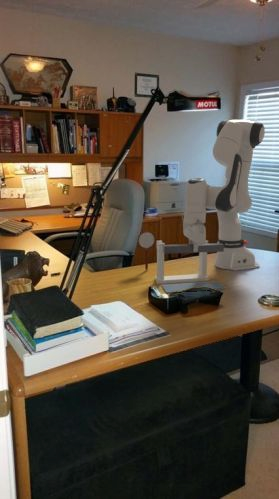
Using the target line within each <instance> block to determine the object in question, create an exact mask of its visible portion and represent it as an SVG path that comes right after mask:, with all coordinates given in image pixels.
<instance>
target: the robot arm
mask: <svg viewBox="0 0 279 499" xmlns="http://www.w3.org/2000/svg"><path fill="white" fill-rule="evenodd" d="M265 133H266V132H265V126H264V124H263V123H262V122H259V121H251V120H246V119H231V120H230V119H224V120H221V121H220V122H219V123H218V125H217V127H216V140H215V142H214V145H213V146H212V155H213V158H214V160H215V161H216V162H217V163H218V164H219V165H221V166H222V167H226V170H225V175H224V176H225V179H226V183H225V185H223V186H215V185H214V186H213V185H210V184H208V183H207V180H206V179H205V178H200V177H199V178H198V177H197V178H190V179H189V180H188V181H186V182H187V183H186V186H185V193H184V194H185V195H184V202H185V208H184V212H183V213H182V215H181V219H182V229H183V230H182V232H183V235H184V237H186V238H188V244H194V246H193V251H194V252H196V253H198V252H197V251H198V246H199V244H205V242H206V241H207V238H206V237H207V230H206V226H205V225H204V224H205V223H206V217H207V210H208V209H209V210H216V215H217V220H218V238H217V242H216V243H222V244H223V245H224V252H216V253H217V254H216V259H215V263H214V265H213V266H214V267H216V268H218V269H223V270H224V269H225V270H230V271H234V272H235V271H245V270H251V269H257V268H260V263H259V262H258V261H256V256H255V254H254V253H253V252H252V251H251V250H250V249H249V248H247V247H246V246H247V245H248V244H249V241H248V240H246V239H242V221H241V220H240V218H239V214H244V213H246V212H248V211H249V210H250V209H251V207H252V204H253V202H252V201H253V199H252V197H251V195H250V193H249V176H250V171H251V166H252V161H253V154H254V149H255V148H256V147H258V146H259V145H260V144H261V143H262V142H263V140H264V138H265ZM245 245H246V246H245Z"/></svg>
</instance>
